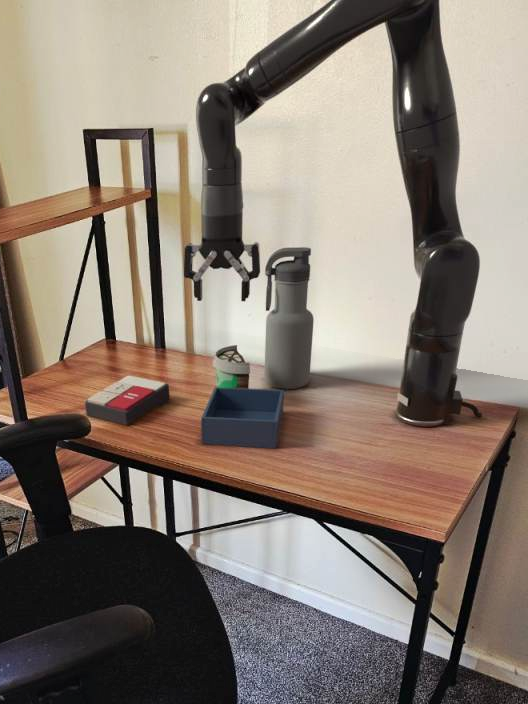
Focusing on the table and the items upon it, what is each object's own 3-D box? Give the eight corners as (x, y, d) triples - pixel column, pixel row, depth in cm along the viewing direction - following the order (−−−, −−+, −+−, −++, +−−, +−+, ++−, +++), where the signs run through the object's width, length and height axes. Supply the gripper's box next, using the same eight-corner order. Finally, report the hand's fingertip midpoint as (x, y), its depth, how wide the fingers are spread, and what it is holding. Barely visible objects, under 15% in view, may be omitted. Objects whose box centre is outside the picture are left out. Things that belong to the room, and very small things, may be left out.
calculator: (83, 398, 144) (127, 372, 154) (86, 417, 146) (129, 390, 156) (126, 409, 138) (169, 380, 148) (128, 428, 140) (170, 399, 150)
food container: (207, 391, 153) (207, 346, 148) (235, 389, 154) (236, 344, 149) (219, 413, 143) (219, 366, 138) (249, 411, 143) (250, 363, 138)
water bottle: (259, 389, 153) (264, 254, 138) (264, 373, 161) (268, 244, 146) (308, 391, 150) (317, 254, 136) (310, 375, 158) (319, 244, 144)
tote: (282, 415, 141) (284, 389, 138) (276, 448, 128) (277, 421, 125) (214, 411, 144) (214, 387, 141) (201, 444, 131) (201, 417, 129)
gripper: (179, 214, 127) (182, 305, 136) (259, 212, 124) (256, 305, 132) (187, 208, 133) (188, 295, 142) (263, 206, 130) (260, 295, 139)
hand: (221, 300), depth 137 cm, fingers open, 8 cm apart
